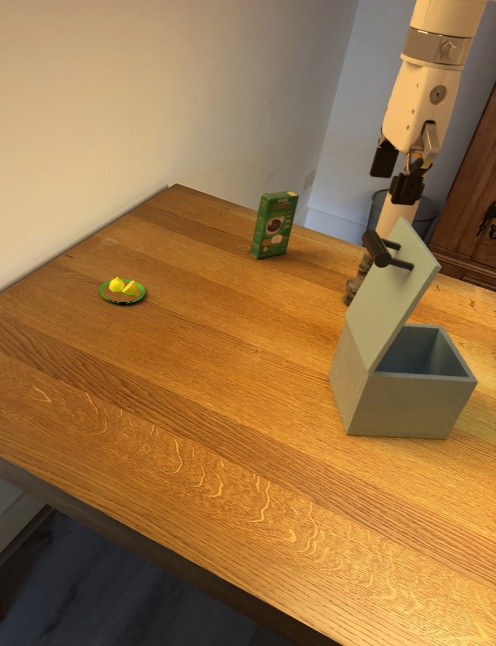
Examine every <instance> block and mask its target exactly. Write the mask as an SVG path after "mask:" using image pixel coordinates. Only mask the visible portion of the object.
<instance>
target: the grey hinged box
mask: <svg viewBox="0 0 496 646" xmlns="http://www.w3.org/2000/svg"><path fill="white" fill-rule="evenodd" d="M327 378H328V381H329V385H330V388H331V392H332V394H333V398H334V400H335V401H334V402H335V404H336V408H337V410H338V413H339V417H340V420H341V423H342V427H343V430H344V432H345V435H347V436H365V437H366V436H367V437H369V436H370V437H386V438H387V437H388V438H389V437H390V438H406V439H407V438H410V439H431V440H447V439H448V437H449V435H450V434H451V432H452V430H453V429H454V427H455V425H456V423H457V421H458V420H459V418H460V415H461V414H462V412H463V410H464V409H465V408H466V405H467V403H468V401H469V400H470V398H471V396H472V394H473V392H474V391H475V389H476V387H477V385H478V383H479V381H478V379H477V377H476V376H475V375H474V373H473V372H472V370H471V368H470V366H469V365H468V364H467V361H466V360H465V359H464V357H463V355H462V354H461V352H460V350H459V349H458V348H457V346H456V345H455V343H454V341H453V340H452V337H450V335H449V333H448V332H447V330H446V329H445V326H444V325H442V324H429V323H415V322H406V323H405V324H404V326H403V327H402V329H401V330H400V332H399V333H398V335H397V336H396V338H395V339H394V341H393V342H392V344H391V345H390V347H389V349H388V350H387V352H386V353H385V355H384V356H383V358H382V359H381V361H380V362H379V364H378V365H377V367H376V368H375V370H374V371H373V373H371V372H367V370H366V367H365V365H364V362H363V360H362V357H361V355H360V352H359V350H358V348H357V345H356V343H355V340H354V338H353V335H352V333H351V330H350V328H349V325H348V323H347V320H346V319H345V320H344V323H343V325H342V330H341V333H340V335H339V339H338V342H337V345H336V348H335V351H334V353H333V357H332V360H331V364H330V367H329V370H328V373H327Z"/></svg>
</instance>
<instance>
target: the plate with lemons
mask: <svg viewBox="0 0 496 646" xmlns="http://www.w3.org/2000/svg"><path fill="white" fill-rule="evenodd" d="M124 282H129V284H128V285H127V286H126V287H125V284H124ZM107 284H108V285H109V284H110V285H109V289H110V290H111V291H112V292H123V293H124V294H126V295H128V296H133V295H135V296H136V295H137V294H138V293H137V289H138V288H139V289H140V290H141V291H140V292H141V295H140V296H139V298H138V299H137V300H134V301H132V302H127V303H126V304H129V303H134V302H138V301H139V300H141V299H142V298H144V296H145V295H146V289H145V287H144V286H143V285H142V284H141V283H139V282H137V281H135V280H132V279H125V278H120V277H118V276H116V277H115V278H113V279H109V280H108V281H105V282H103V283H102V284H101V285H100V286H99V294H100V296H101V297H102V298H103V299H105V300H107V301H110V302H112V303H115V302H114V301H111V300H109V299H108V298H106V297H105V296H104V295H103V288H104V287H105V286H106V285H107ZM137 287H138V288H137ZM116 303H117V304H120V303H119V302H116Z"/></svg>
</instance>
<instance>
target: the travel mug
mask: <svg viewBox="0 0 496 646" xmlns="http://www.w3.org/2000/svg"><path fill="white" fill-rule="evenodd" d="M398 176H399V175H392V177H391V178H392V179H391V181H390V185H389V188H388V190H387V194H386V197H385V199H384V203H383V205H382V209H381V212H380V215H379V217H378V222H377V225H376V228H375V229H374V230H375V231H376V232H377V233H378V235H379V236H380V238H382V239H386V240H387V238H388V237H389V235H390V233H391V231H392V230H393V228H394V226H395V224H396V222H397V221H398V219H399V217H400V216H402V217H405V218H406V219H407V221H408V222H409V223H410V225H411V226H412V224H413V221H414V218H415V216H416V213H417V210H418V208H419V205H420V201H421V199H422V194H423V193H424V190H425V187H426V183H425V182H422V185H421V188H420V190H419V193H418V196H417V199H416V201H415V204H414V205H412V206H409V205H397V204H392V203H391V197H392V194H393V191H394V188H395V185H396V182H397V179H398Z"/></svg>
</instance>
